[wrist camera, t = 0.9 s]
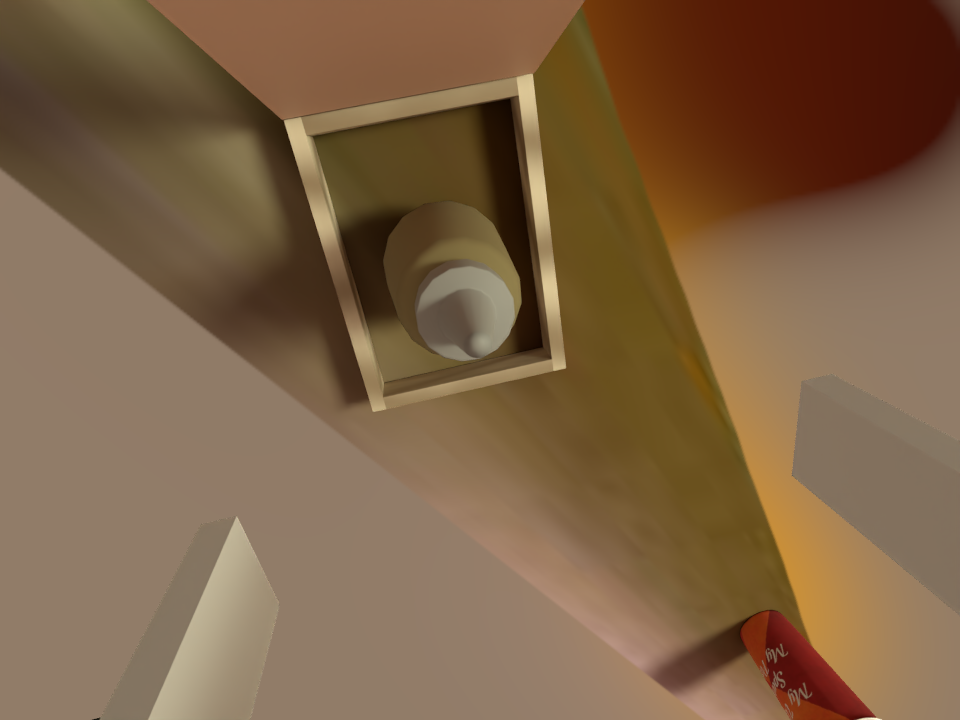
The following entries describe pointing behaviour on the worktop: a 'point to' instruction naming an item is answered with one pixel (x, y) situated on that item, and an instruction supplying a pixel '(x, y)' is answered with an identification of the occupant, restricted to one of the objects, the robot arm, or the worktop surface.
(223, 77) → the worktop surface
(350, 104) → the lid
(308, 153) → the frame
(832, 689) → the paper cup
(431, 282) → the squeeze bottle
